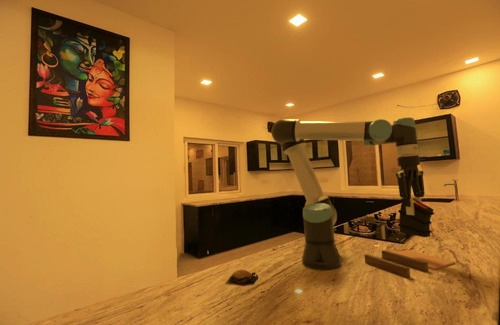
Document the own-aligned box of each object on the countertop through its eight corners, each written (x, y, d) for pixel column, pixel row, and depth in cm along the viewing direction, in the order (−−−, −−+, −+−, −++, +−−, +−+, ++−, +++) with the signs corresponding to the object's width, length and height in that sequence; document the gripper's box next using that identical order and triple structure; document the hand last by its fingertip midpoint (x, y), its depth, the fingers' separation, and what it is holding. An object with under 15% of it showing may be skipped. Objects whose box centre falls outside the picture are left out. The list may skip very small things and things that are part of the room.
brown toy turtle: (224, 286, 82) (223, 275, 83) (232, 276, 90) (231, 266, 91) (254, 287, 80) (253, 276, 80) (259, 277, 88) (258, 267, 88)
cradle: (407, 277, 78) (406, 268, 79) (365, 262, 94) (364, 254, 94) (428, 271, 83) (427, 262, 83) (384, 257, 98) (384, 250, 98)
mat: (434, 270, 83) (434, 268, 83) (387, 256, 100) (387, 254, 100) (455, 263, 88) (455, 261, 88) (407, 251, 104) (407, 249, 104)
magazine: (398, 226, 104) (408, 195, 99) (427, 245, 92) (440, 212, 87) (392, 227, 103) (401, 196, 98) (420, 247, 91) (432, 213, 86)
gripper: (402, 155, 90) (409, 217, 88) (431, 154, 96) (438, 212, 95) (384, 157, 97) (390, 215, 95) (412, 156, 103) (419, 210, 102)
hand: (414, 213), depth 95 cm, fingers closed on magazine, 4 cm apart
